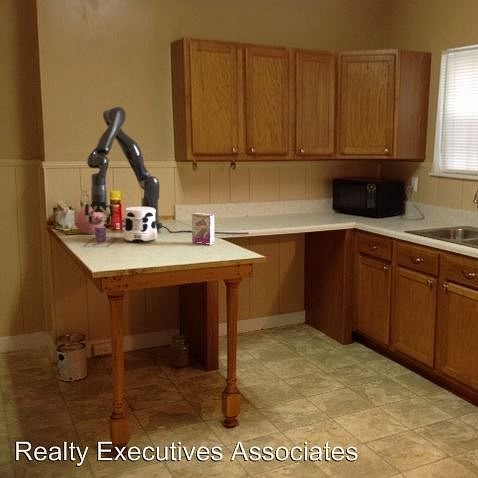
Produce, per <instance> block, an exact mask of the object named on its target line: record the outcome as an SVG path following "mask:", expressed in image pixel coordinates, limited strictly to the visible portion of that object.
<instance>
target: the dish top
mask: <svg viewBox="0 0 478 478" xmlns="http://www.w3.org/2000/svg"><path fill="white" fill-rule="evenodd" d="M95 231H96V232H104V231H106V232H107V227H106V226H105V225H103V226H97V227H95Z"/></svg>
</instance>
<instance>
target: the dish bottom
mask: <svg viewBox="0 0 478 478" xmlns="http://www.w3.org/2000/svg"><path fill="white" fill-rule="evenodd" d="M106 238H107V235H106V236H104V237H97V236H94V241H97V242H103V243H105V242H104V241H107V240H106ZM97 242H96V243H97Z"/></svg>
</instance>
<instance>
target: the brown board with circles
mask: <svg viewBox="0 0 478 478" xmlns="http://www.w3.org/2000/svg"><path fill="white" fill-rule="evenodd" d="M111 239H112V237H106V241H104V242H97V241H95V240H94V241H93V242H92V243H90V246H93V247H95V246H103V245H104V243H108V241H109V240H111Z"/></svg>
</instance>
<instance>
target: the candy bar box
mask: <svg viewBox="0 0 478 478" xmlns="http://www.w3.org/2000/svg"><path fill="white" fill-rule="evenodd" d="M191 222H192V223H191V227H192V228H191V229H192V230H191V231H192V232H191V233H192V235H191V236H192V237H191V239H192V240H191V241H192V243H191V244H194V245H201V244H202V246H212V244H213V245H215V233H214V232H215V214H212V213H202V212H195V213H192V214H191ZM197 242H202V243H197ZM212 242H214V243H212ZM206 243H211V244H206Z"/></svg>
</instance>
